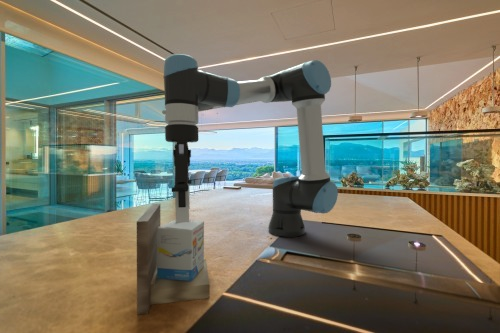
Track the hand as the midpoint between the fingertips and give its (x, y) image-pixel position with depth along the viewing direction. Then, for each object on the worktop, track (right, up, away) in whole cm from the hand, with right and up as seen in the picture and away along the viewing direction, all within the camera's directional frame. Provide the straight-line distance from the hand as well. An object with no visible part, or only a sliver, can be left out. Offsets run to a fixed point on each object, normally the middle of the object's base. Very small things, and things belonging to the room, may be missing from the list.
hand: (183, 215), depth 60 cm
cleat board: (-1, -17, 0) cm, 17 cm away
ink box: (0, -14, 0) cm, 14 cm away
